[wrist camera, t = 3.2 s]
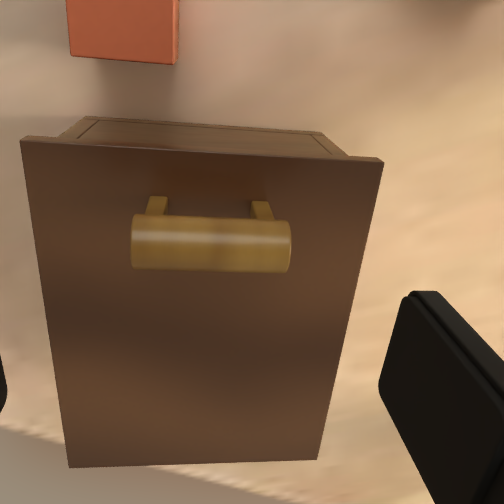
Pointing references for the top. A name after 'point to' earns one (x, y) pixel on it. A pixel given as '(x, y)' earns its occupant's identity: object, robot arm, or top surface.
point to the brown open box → (201, 135)
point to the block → (124, 30)
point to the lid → (195, 294)
